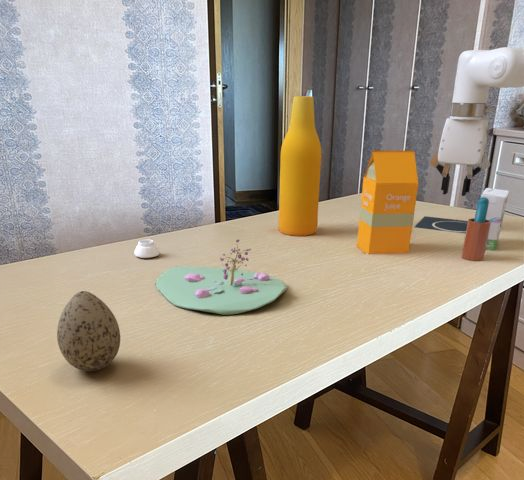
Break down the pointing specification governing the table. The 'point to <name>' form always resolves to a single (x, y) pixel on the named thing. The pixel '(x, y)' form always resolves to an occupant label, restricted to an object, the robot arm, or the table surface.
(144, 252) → the white jar
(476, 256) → the pen cup
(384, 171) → the orange juice
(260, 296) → the plant
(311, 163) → the beer bottle
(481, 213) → the marker
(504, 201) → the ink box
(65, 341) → the decorative egg
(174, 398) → the table surface
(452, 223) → the drawing mat
